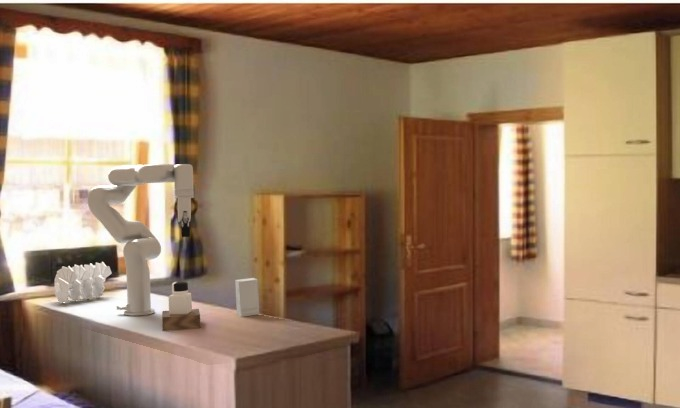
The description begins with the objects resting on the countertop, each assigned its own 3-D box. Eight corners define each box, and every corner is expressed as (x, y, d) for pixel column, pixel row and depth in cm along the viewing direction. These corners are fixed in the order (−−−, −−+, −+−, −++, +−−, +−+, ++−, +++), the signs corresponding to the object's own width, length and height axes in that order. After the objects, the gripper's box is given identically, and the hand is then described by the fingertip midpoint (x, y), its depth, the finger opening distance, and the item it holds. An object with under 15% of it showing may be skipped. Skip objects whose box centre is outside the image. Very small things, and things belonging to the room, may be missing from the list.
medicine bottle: (192, 311, 285) (191, 280, 285) (187, 314, 278) (186, 283, 278) (174, 311, 286) (173, 280, 285) (168, 314, 278) (167, 283, 278)
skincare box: (255, 312, 306) (254, 277, 306) (259, 315, 301) (258, 279, 300) (235, 314, 302) (234, 279, 302) (240, 317, 297) (239, 280, 296)
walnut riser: (162, 330, 273) (162, 317, 273) (162, 323, 287) (162, 311, 287) (200, 328, 277) (200, 314, 276) (199, 321, 290) (198, 308, 290)
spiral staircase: (53, 311, 344) (99, 301, 363) (71, 298, 333) (118, 288, 353) (41, 276, 347) (87, 267, 367) (59, 262, 337) (105, 254, 357)
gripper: (174, 194, 307) (176, 234, 307) (175, 194, 290) (176, 237, 291) (193, 193, 309) (194, 234, 309) (194, 194, 292) (195, 237, 292)
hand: (185, 236), depth 300 cm, fingers open, 9 cm apart
